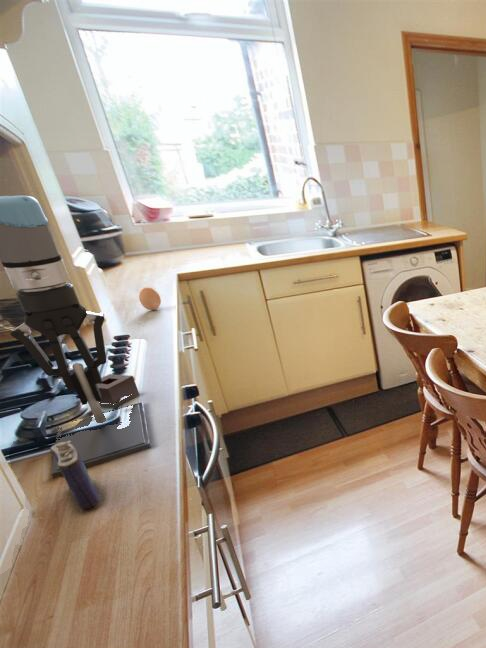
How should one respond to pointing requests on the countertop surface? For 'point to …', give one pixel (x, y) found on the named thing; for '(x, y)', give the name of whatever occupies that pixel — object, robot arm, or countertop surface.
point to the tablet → (108, 440)
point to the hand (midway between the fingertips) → (91, 399)
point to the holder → (117, 390)
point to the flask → (76, 475)
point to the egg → (149, 298)
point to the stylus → (88, 393)
